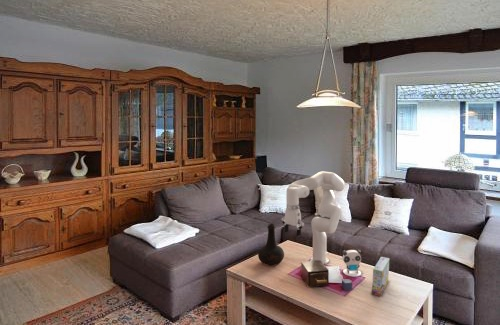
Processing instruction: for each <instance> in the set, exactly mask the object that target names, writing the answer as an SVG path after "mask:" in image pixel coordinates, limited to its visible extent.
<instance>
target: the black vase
mask: <svg viewBox="0 0 500 325" xmlns="http://www.w3.org/2000/svg"><path fill="white" fill-rule="evenodd" d="M276 228H277V227H276V225H275V224H274V223H268V225H267V238H266V239H267V240H266V243H265V244H264V245H263V246H261V247H260V248H259V250H258V252H257V257H258V260H259V261H260V262H261V263H262V264H263V265H265V266H270V267H273V266H278V265H280V263H282V261H283V260H284V258H285V252H284V249H283V248H282V247H281V246H280V245H277V241H276V231H275V230H276Z"/></svg>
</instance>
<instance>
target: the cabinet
mask: <svg viewBox="0 0 500 325" xmlns="http://www.w3.org/2000/svg"><path fill="white" fill-rule="evenodd" d="M300 266H301V267H300V270H301V271H300V273H301V274H300V276H301V278H302V279H303V281H304V283H305V284H306V286H307V287H308V288H311V287H310V273H315V272H328V273H329V268H328V267H326V264H323V263H322V262H321V260H316V261H310V260H305V261H301V262H300Z"/></svg>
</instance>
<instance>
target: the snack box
mask: <svg viewBox="0 0 500 325" xmlns="http://www.w3.org/2000/svg"><path fill="white" fill-rule="evenodd" d="M390 260H391V259H390V257H385V256H380V258H379V260H378V261H377V262H376V263H375V266H374V267H373V269H372V286H371V294H372V295H375V296H379V297H381V296H382V295H383V292H384V290H385V288H386V286H387V284H388V283H389V272H390Z"/></svg>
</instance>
